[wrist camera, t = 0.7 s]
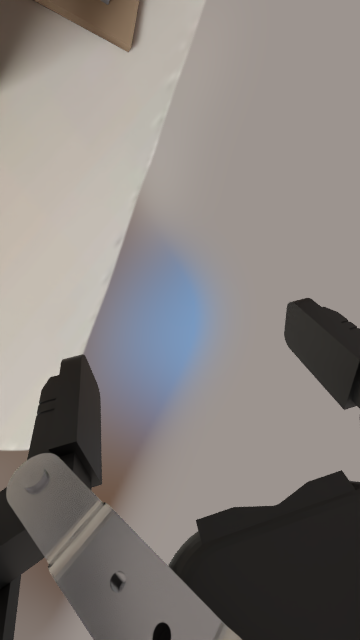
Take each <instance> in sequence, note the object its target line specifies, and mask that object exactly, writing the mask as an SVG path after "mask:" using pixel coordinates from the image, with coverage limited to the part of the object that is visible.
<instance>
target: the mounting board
mask: <svg viewBox="0 0 360 640" xmlns="http://www.w3.org/2000/svg"><path fill="white" fill-rule="evenodd" d="M34 1H36V2H38V3H39V4H41V5H43V6H45V7H47V8H49V9H50V10H52V11H54V12H56V13H58V14H60V15H61V16H63V17H65V18H67V19H69V20H71V21H72V22H74V23H76V24H78V25H80V26H81V27H83V28H85V29H87V30H89V31H91V32H92V33H94V34H96V35H98V36H100V37H102V38H103V39H105V40H107V41H109V42H111V43H113V44H114V45H116V46H118V47H120V48H122V49H124V50H125V51H127V52H129V50H130V48H131V45H132V39H133V34H134V28H135V22H136V16H137V11H138V5H139V0H34Z"/></svg>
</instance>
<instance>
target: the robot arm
mask: <svg viewBox="0 0 360 640" xmlns="http://www.w3.org/2000/svg"><path fill="white" fill-rule="evenodd" d="M284 336H285V340H286V343H287V345H288V347H289V348H290V349H291V350H292V352H294V354H295V355H296V356H297V357H298V358H299V359H300V361H301V362H302V363H303V364H304V365H305V366H306V367H307V368H308V370H309V371H310V372H311V373H312V374H313V375H314V376H315V378H317V380H318V381H319V382H320V383H321V384H322V385H323V386H324V388H325V389H326V390H327V391H328V392H329V393H330V394H331V395H332V397H333V398H334V399H335V400H336V401H337V402H338V403H339V404H340V406H341V407H342V408H343V409H344V410H345V409H348V408H351V407H355V406H358V407H359V408H360V329H359V328H357V326H355V325H354V324H353V323H351V322H348V320H347V319H346V318H345V317H343V316H342V315H341V314H339V313H338V312H336V311H333V310H331V309H328V308H326V307H321V306H320V305H318V304H317V303H316V302H314V301H313V300H312V299H310V298H305V299H301V300H297V301H293V302H290V303H289V304H288V305H287V312H286V322H285V332H284ZM39 404H40V405H39V406H38V411H37V416H36V420H35V425H34V430H33V435H32V440H31V445H30V449H29V454H28V458H27V461H25V462H24V463H23V464H22V465H21V466H20V467H19V468H18V469H17V470H16V471H15V472H14V474H13V475H12V477H11V479H10V481H9V483H8V486H7V487H6V488H5V489H4V490H2V491H1V492H0V640H13V639H14V630H15V621H16V612H17V605H18V597H19V588H20V579H21V574H22V573H24V572H25V571H26V570H28V569H29V568H30V567H32V566H33V565H35V564H36V563H38V562H39V561H40V560H42V559H43V558H44V557H45V558H46V560H47V561H48V563H49V566H48V568H49V571H50V573H51V575H52V577H53V578H54V580H55V581H56V583H57V584H58V586H59V588H60V589H61V591H62V592H63V593H64V595H65V596H66V598H67V600H68V601H69V603H70V604H71V606H72V607H73V609H74V610H75V612H76V613H77V615H78V616H79V618H80V619H81V621H82V623H83V624H84V626H85V627H86V629H87V630H88V631H89V633H90V635H91V636H92V637H93V639H94V640H360V482H353V481H349V480H348V479H347V477H346V476H345V474H344V473H343V472H342V470H341V471H338V472H336V473H333V474H330V475H327V476H324V477H321V478H318V479H315V480H312V481H309V482H307V483H306V484H304V485H303V486H302V487H301V488H299V489H298V490H297V491H296V492H294V493H293V494H292V495H290V496H289V497H288V498H286V499H285V500H284V501H282V502H281V503H280V504H278V505H275V506H259V507H258V506H257V507H233V508H230V509H227V510H225V511H222V512H218V513H216V514H213V515H210V516H207V517H204V518H201V519H198V520H196V522H197V526H198V532H197V533H195V534H194V535H193V536H191V537H190V538H189V539H188V540H187V541H186V542H185V543H184V544H183V545H182V546H181V548H180V549H179V550H178V551H177V553H176V554H175V556H174V557H173V559H172V560H171V562H170V564H169V566H168V565H167V564H166V563H165V562H164V561H163V560H162V559H161V558H160V557H159V556H158V555H157V554H156V553H155V552H154V551H153V550H152V549H151V548H150V547H149V546H148V545H147V544H146V543H145V542H144V541H143V540H142V539H141V538H140V537H139V536H138V534H137V533H135V531H133V529H131V527H129V525H128V524H127V523H126V522H125V521H124V520H123V519H122V518H121V517H120V516H119V515H118V514H117V513H116V512H115V511H114V510H113V509H112V508H111V507H110V506H109V505H108V504H106V503H103V502H102V501H101V500H100V499H99V498H98V497H97V496H96V495H94V493H93V492H92V491H91V488H92V487H95V486H98V485H101V484H102V469H101V467H102V463H101V413H100V412H101V409H100V408H101V406H100V392H99V388H98V385H97V382H96V380H95V378H94V375H93V373H92V370H91V368H90V366H89V363H88V361H87V359H86V357H85V355H79V356H75V357H71V358H67V359H63V360H62V361H61V367H60V374H59V375H58V376H54V377H50V378H49V380H48V381H47V383H46V384H45V386H44V387H43V389H42V391H41V396H40V401H39Z"/></svg>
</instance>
